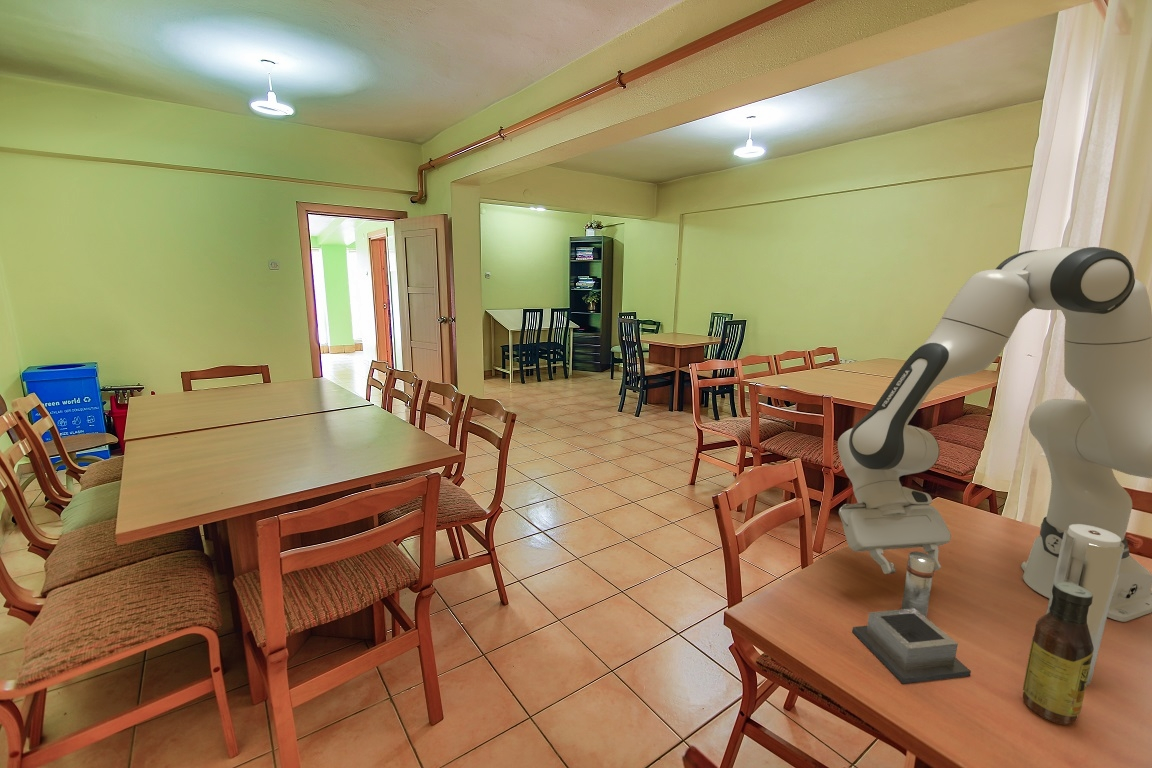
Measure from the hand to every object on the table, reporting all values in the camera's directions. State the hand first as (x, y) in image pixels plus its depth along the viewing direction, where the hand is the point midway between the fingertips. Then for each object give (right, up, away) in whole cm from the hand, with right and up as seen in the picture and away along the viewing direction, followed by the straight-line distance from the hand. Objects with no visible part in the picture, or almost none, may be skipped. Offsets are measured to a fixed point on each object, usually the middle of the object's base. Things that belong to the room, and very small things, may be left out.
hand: (913, 571), depth 95 cm
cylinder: (0, -8, 0) cm, 8 cm away
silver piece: (+15, -11, -14) cm, 23 cm away
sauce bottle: (+6, -13, -21) cm, 25 cm away
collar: (-7, -10, -9) cm, 16 cm away
